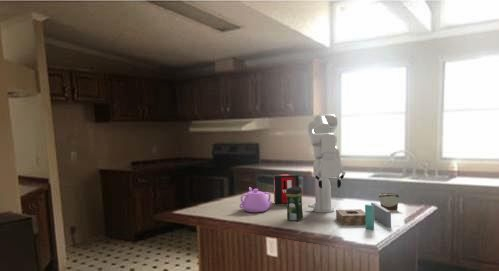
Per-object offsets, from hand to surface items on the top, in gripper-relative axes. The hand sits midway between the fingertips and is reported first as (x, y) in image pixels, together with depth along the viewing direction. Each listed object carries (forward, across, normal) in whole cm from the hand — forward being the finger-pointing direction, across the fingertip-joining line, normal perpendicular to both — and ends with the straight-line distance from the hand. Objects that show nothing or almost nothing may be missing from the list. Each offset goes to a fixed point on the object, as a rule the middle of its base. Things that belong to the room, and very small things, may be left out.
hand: (329, 187), depth 187 cm
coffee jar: (+19, -18, +9) cm, 28 cm away
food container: (+19, +42, +29) cm, 54 cm away
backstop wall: (+19, +27, 0) cm, 33 cm away
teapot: (+19, -41, +36) cm, 58 cm away
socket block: (+19, +12, 0) cm, 22 cm away
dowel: (+19, +16, -14) cm, 29 cm away
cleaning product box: (+18, -19, +54) cm, 60 cm away
